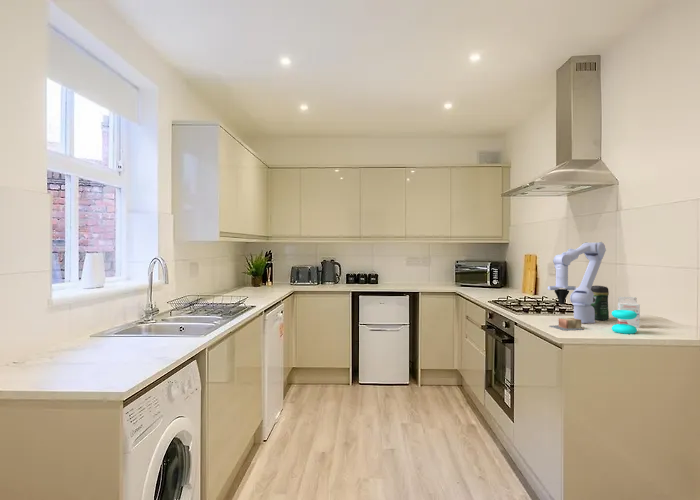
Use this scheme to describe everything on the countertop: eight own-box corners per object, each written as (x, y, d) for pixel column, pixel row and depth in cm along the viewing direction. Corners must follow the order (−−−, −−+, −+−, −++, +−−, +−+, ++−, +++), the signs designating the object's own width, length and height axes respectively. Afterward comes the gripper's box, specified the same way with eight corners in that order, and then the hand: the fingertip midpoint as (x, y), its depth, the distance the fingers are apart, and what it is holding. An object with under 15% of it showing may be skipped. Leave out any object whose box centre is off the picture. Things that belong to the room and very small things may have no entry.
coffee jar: (611, 320, 237) (611, 286, 237) (597, 320, 236) (597, 286, 236) (600, 317, 246) (599, 284, 246) (586, 318, 246) (586, 285, 246)
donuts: (607, 310, 205) (618, 308, 210) (607, 331, 205) (618, 329, 210) (630, 313, 196) (641, 311, 202) (630, 335, 196) (641, 333, 202)
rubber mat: (567, 325, 222) (567, 325, 222) (583, 329, 210) (583, 329, 210) (549, 326, 220) (549, 325, 220) (564, 330, 208) (564, 329, 208)
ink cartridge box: (619, 327, 216) (619, 297, 216) (617, 325, 221) (617, 296, 221) (640, 328, 213) (639, 298, 213) (637, 326, 218) (636, 297, 218)
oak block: (573, 317, 219) (558, 318, 218) (581, 319, 213) (566, 320, 212) (573, 325, 219) (558, 326, 218) (581, 328, 213) (566, 328, 212)
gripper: (553, 278, 220) (553, 305, 220) (579, 278, 223) (579, 304, 223) (545, 277, 227) (545, 303, 227) (570, 277, 230) (570, 303, 230)
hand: (561, 304), depth 225 cm, fingers closed
